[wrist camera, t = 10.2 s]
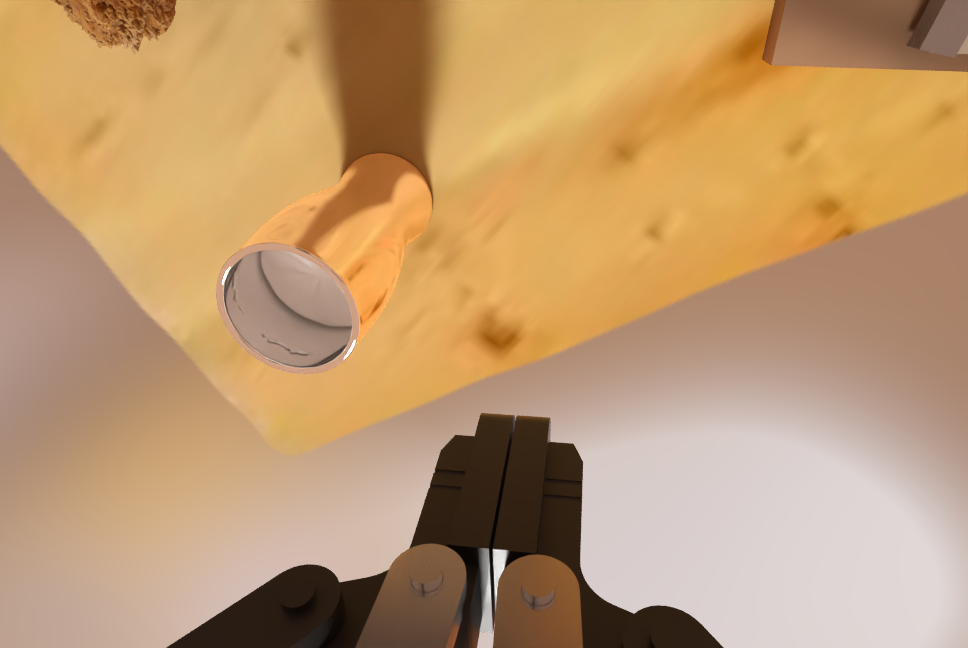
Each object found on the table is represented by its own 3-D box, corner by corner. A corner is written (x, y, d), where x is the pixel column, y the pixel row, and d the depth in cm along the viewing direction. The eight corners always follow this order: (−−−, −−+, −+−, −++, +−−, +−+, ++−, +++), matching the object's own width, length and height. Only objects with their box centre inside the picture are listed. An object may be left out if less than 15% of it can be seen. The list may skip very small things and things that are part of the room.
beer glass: (369, 121, 38) (251, 204, 25) (461, 193, 39) (393, 308, 26) (315, 205, 41) (187, 317, 28) (401, 269, 42) (316, 403, 30)
